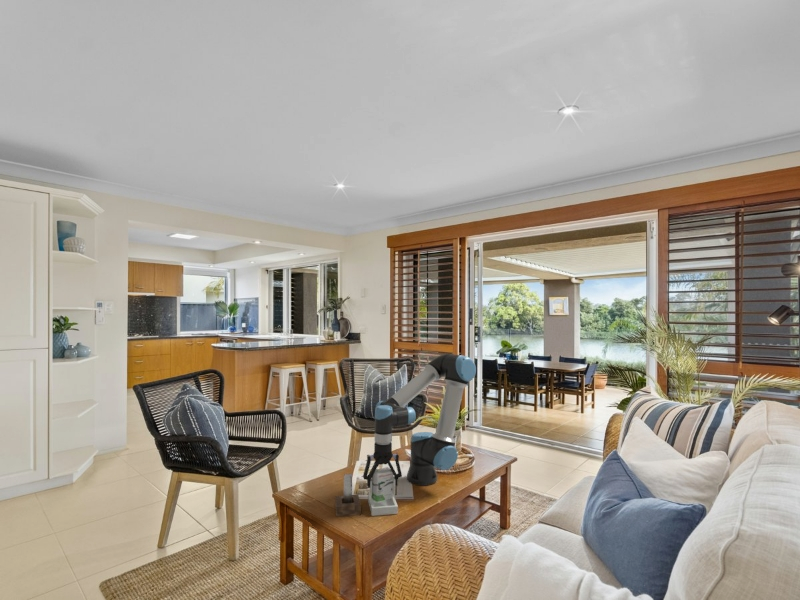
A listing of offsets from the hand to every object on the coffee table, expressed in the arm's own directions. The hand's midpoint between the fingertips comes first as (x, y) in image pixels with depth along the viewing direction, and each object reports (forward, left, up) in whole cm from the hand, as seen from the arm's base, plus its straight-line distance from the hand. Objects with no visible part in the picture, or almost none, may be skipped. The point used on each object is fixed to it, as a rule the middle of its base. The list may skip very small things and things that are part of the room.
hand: (382, 494), depth 183 cm
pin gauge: (+15, 0, -5) cm, 16 cm away
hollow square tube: (+15, 0, -6) cm, 16 cm away
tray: (0, 0, -6) cm, 6 cm away
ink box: (0, 0, -2) cm, 2 cm away
